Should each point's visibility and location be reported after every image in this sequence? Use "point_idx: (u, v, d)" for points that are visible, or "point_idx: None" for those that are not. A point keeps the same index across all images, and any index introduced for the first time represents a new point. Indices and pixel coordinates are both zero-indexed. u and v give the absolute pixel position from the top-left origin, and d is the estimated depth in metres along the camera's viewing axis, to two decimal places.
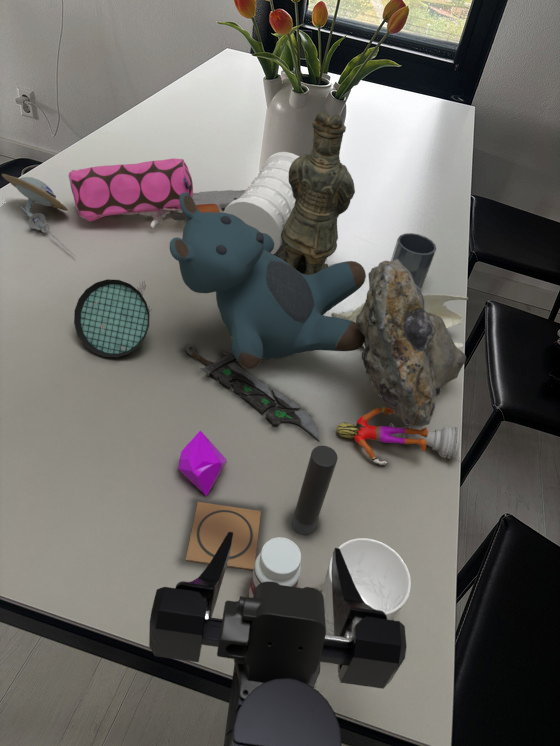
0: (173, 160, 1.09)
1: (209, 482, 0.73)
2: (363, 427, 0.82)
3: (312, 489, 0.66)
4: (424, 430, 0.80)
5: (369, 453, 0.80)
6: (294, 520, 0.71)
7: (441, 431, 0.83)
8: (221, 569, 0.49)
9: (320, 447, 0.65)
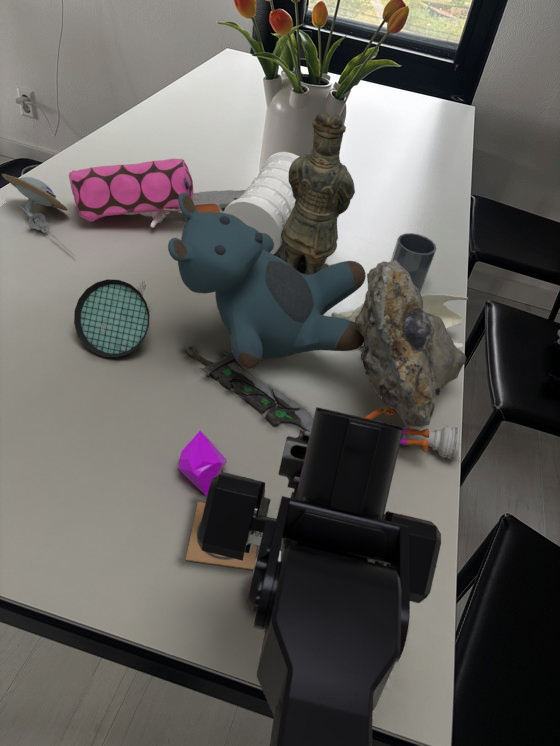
0: (173, 160, 1.09)
1: (209, 482, 0.73)
2: None
3: None
4: (426, 431, 0.79)
5: None
6: None
7: (441, 431, 0.83)
8: None
9: None
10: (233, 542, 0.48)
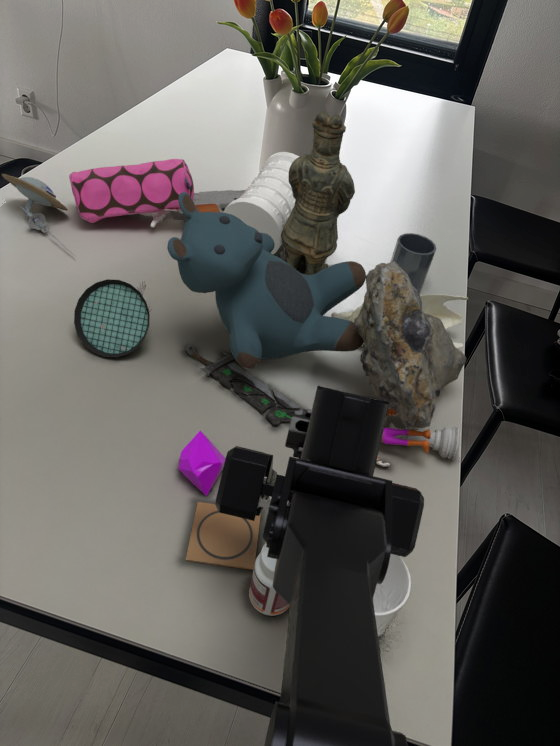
0: (174, 161, 1.09)
1: (209, 482, 0.73)
2: None
3: None
4: (427, 432, 0.79)
5: None
6: None
7: (441, 431, 0.83)
8: None
9: None
10: (246, 504, 0.56)
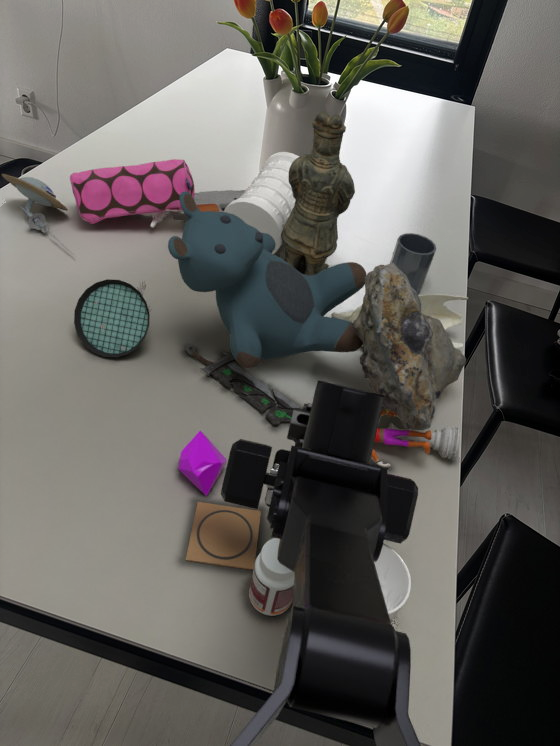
0: (174, 161, 1.09)
1: (209, 482, 0.73)
2: None
3: None
4: (428, 433, 0.79)
5: (373, 456, 0.80)
6: None
7: (441, 431, 0.83)
8: None
9: None
10: (250, 493, 0.59)
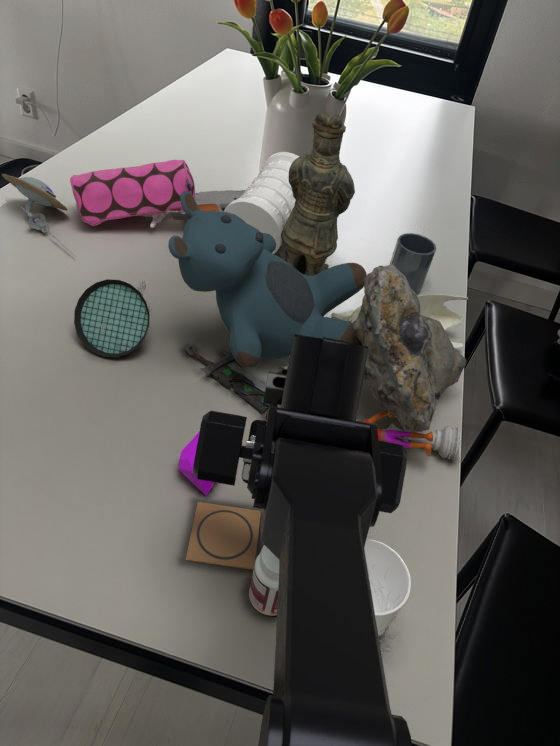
0: (174, 162, 1.08)
1: (209, 482, 0.73)
2: None
3: None
4: (429, 434, 0.79)
5: None
6: None
7: (442, 431, 0.83)
8: None
9: None
10: (225, 468, 0.54)
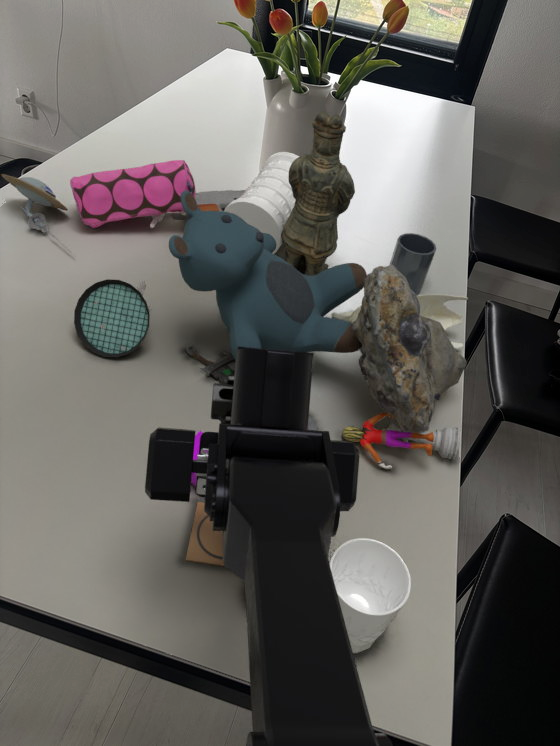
0: (174, 162, 1.08)
1: None
2: (369, 431, 0.81)
3: None
4: (430, 435, 0.79)
5: (374, 457, 0.80)
6: None
7: (442, 431, 0.83)
8: None
9: None
10: (178, 486, 0.53)
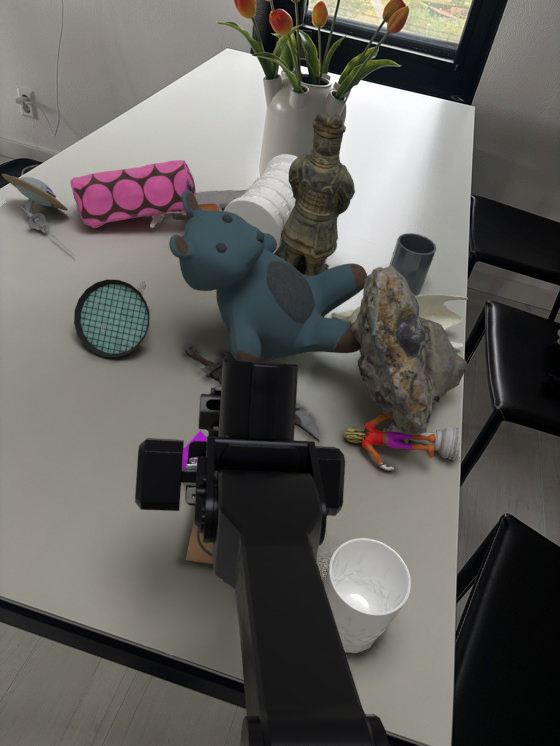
0: (174, 162, 1.08)
1: None
2: (370, 432, 0.81)
3: None
4: (432, 436, 0.79)
5: (376, 458, 0.80)
6: None
7: (442, 431, 0.83)
8: None
9: None
10: (168, 495, 0.54)
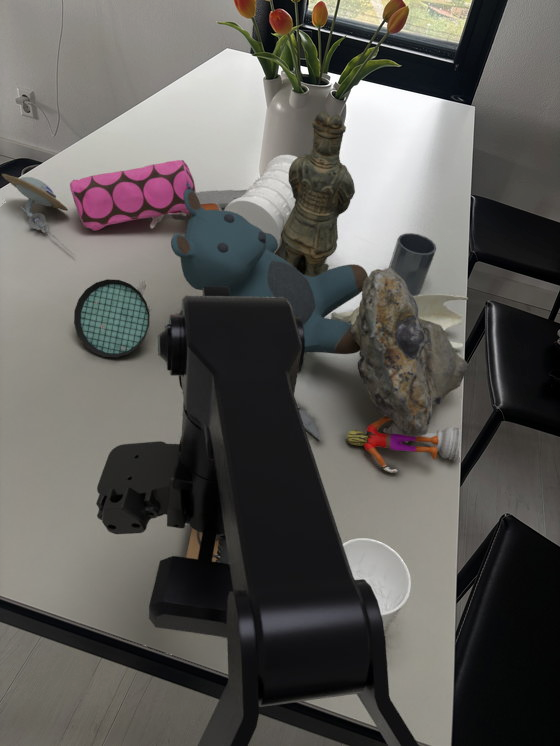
0: (174, 163, 1.07)
1: None
2: (373, 435, 0.81)
3: None
4: (435, 438, 0.79)
5: (379, 461, 0.79)
6: None
7: (443, 432, 0.83)
8: None
9: None
10: (225, 576, 0.42)
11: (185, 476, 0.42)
